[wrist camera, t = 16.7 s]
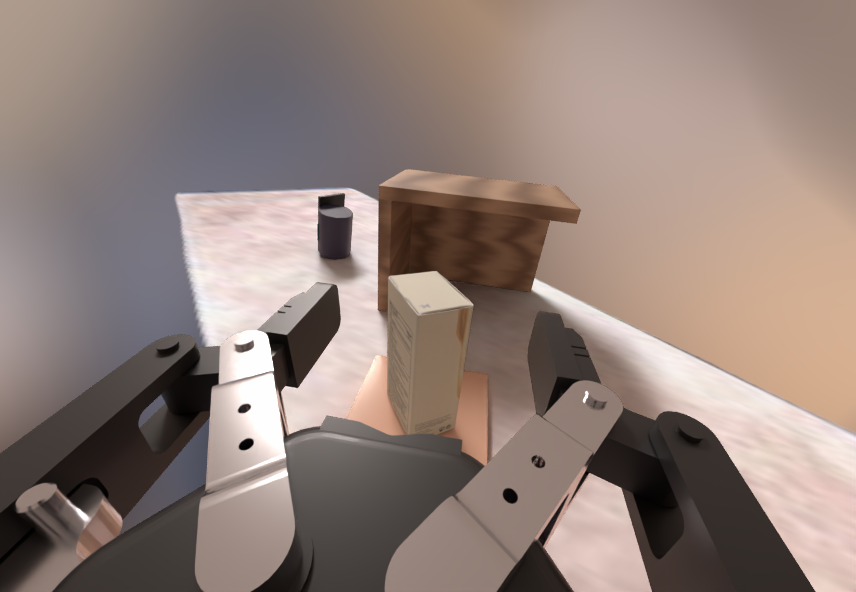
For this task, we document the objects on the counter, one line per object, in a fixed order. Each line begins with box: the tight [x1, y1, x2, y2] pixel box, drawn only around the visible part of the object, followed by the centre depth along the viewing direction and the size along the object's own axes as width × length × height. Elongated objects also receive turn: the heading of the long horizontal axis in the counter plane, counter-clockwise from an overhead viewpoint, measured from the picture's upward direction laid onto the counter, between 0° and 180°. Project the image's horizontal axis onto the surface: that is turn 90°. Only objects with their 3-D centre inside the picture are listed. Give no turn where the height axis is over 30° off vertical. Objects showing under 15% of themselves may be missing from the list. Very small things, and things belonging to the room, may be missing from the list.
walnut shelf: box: [378, 169, 581, 311], centre depth 45 cm, size 22×14×16 cm, turn 81°
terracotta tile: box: [346, 355, 488, 466], centre depth 29 cm, size 12×12×1 cm
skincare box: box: [387, 271, 474, 435], centre depth 26 cm, size 6×4×12 cm
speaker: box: [317, 193, 353, 259], centre depth 58 cm, size 8×6×10 cm
